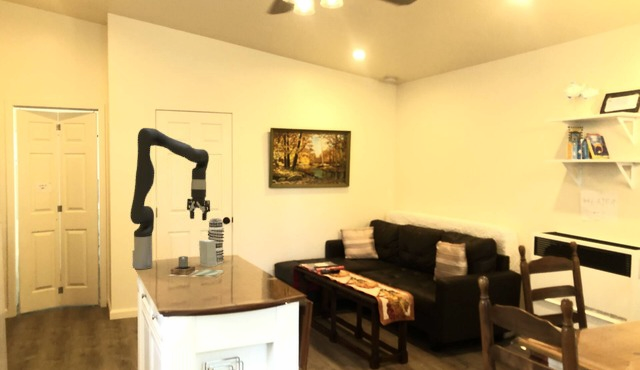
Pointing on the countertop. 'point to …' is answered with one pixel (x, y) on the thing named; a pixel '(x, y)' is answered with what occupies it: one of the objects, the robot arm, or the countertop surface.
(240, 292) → the countertop surface
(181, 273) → the caddy
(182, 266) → the end cover
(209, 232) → the decorative candle
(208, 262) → the skincare box
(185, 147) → the robot arm
